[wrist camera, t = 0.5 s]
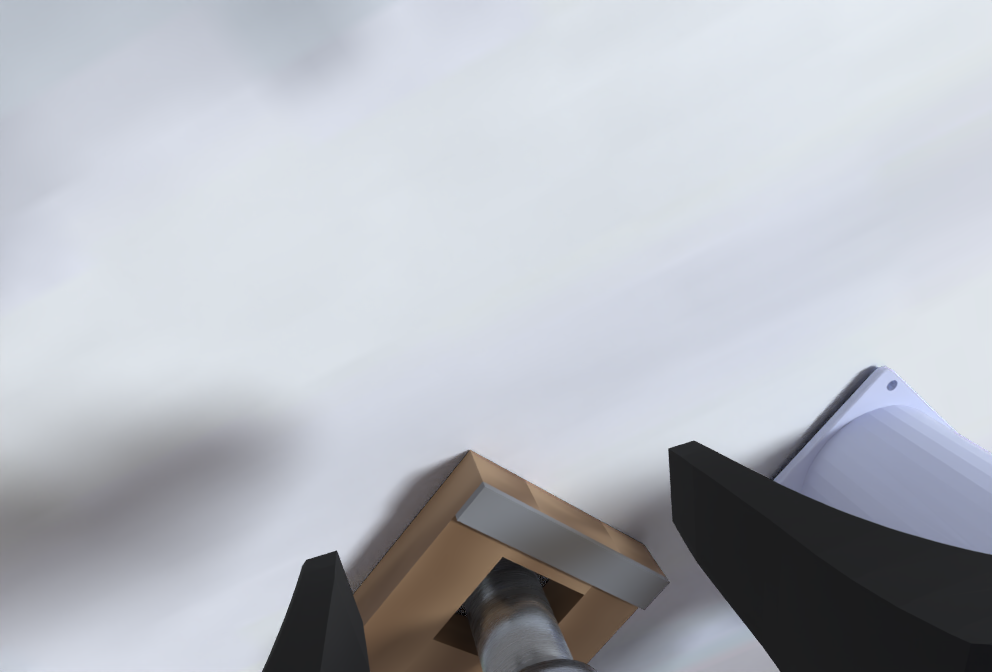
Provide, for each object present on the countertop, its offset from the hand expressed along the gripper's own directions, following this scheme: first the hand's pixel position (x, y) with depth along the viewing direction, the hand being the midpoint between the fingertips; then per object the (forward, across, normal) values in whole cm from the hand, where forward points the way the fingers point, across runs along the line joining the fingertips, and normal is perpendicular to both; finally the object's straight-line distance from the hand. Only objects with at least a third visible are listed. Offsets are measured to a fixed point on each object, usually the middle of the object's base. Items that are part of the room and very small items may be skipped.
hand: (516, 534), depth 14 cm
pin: (+10, 0, +11) cm, 15 cm away
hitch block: (+10, 0, +11) cm, 15 cm away
